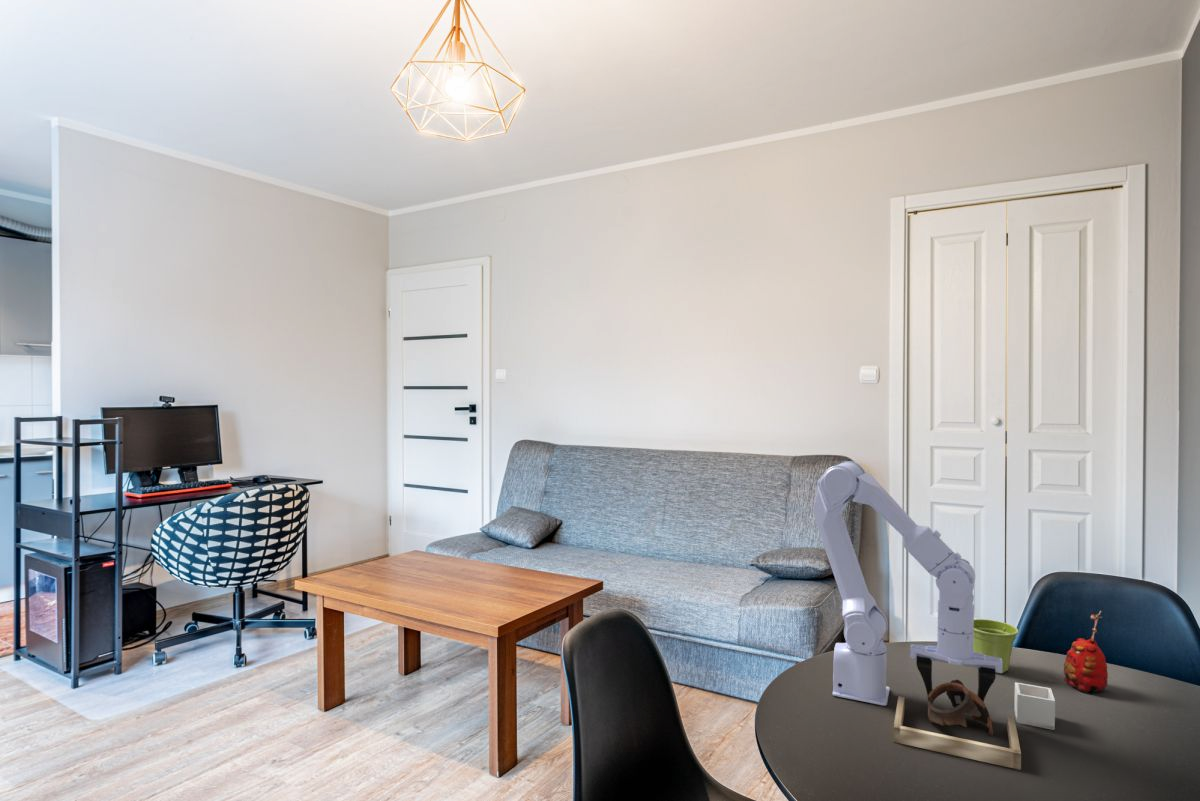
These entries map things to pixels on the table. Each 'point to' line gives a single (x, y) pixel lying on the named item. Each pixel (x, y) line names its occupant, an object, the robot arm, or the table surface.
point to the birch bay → (959, 742)
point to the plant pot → (994, 640)
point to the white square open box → (1034, 706)
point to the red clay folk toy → (1086, 664)
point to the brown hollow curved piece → (958, 706)
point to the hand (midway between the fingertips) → (954, 704)
